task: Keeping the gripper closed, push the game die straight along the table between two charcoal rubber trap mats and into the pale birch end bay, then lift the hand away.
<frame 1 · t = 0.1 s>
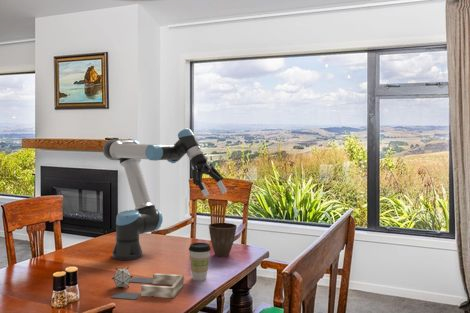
hand: (216, 194, 199), 36 cm above the table, tool tilted 35°, fingers open, 13 cm apart
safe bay: (161, 289, 172), on the table
trap mats: (134, 287, 173), on the table
game die: (122, 287, 174), on the table
plant pot: (222, 255, 225), on the table
coffee cup: (199, 278, 187), on the table
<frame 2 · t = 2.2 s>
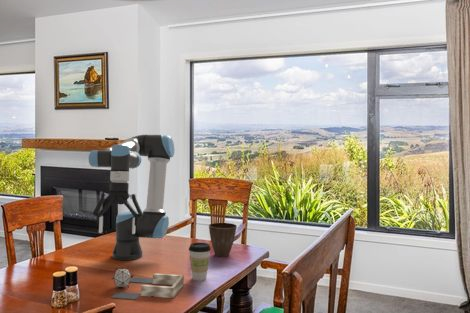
hand: (117, 233, 174), 22 cm above the table, tool pointing down, fingers open, 13 cm apart
nothing on the table moved.
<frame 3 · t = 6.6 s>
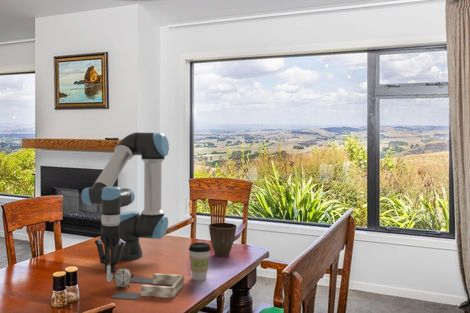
hand: (109, 280, 174), 3 cm above the table, tool pointing down, fingers closed
game die: (122, 287, 174), on the table, touching gripper
everything else where it was.
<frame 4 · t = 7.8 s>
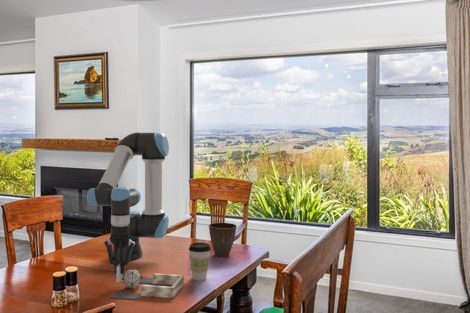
hand: (119, 281, 174), 3 cm above the table, tool pointing down, fingers closed
game die: (131, 288, 173), on the table, touching gripper
everything else where it was.
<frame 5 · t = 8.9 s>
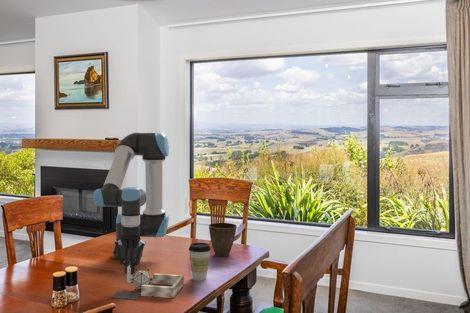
hand: (129, 281, 173), 3 cm above the table, tool pointing down, fingers closed
game die: (141, 289, 172), on the table, touching gripper
everything else where it was.
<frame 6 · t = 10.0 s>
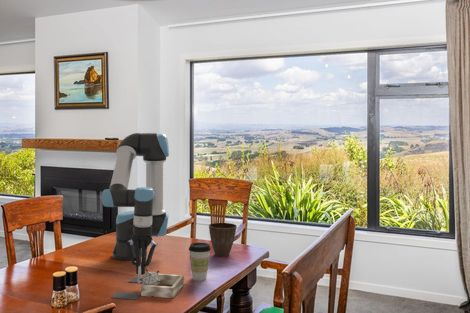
hand: (140, 281, 173), 3 cm above the table, tool pointing down, fingers closed
game die: (149, 290, 171), on the table, touching gripper, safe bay
everything else where it was.
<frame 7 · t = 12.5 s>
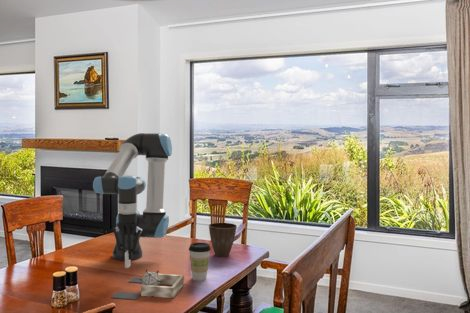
hand: (127, 266, 179), 7 cm above the table, tool pointing down, fingers closed
game die: (150, 290, 170), on the table, touching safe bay
everything else where it was.
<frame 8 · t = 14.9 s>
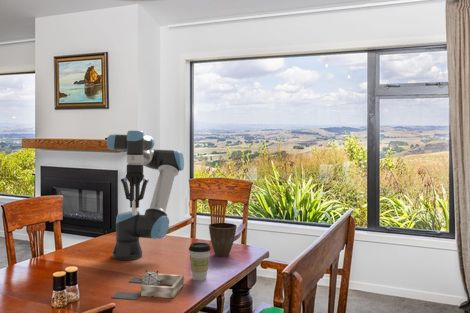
hand: (134, 214, 194), 26 cm above the table, tool pointing down, fingers closed
nothing on the table moved.
at the end: game die inside the target area (5.1 cm from its centre), on the table; game die touching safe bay, table; game die tilted 2° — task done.
